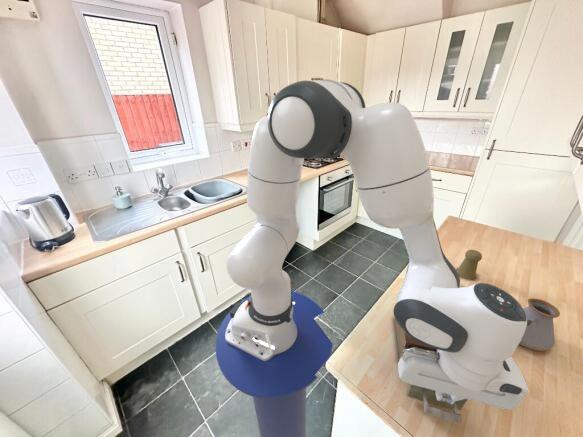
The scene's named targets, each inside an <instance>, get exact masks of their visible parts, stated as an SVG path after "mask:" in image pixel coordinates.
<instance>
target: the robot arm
mask: <svg viewBox="0 0 583 437" xmlns="http://www.w3.org/2000/svg"><path fill="white" fill-rule="evenodd" d="M339 156H342V157H343V158H344V159H345V160H346V161H347V163H348V164H349V166H350V169H351V173H352V175H353V179H354V181H355V186H356V190H357V193H358V195H359V200H360V202H361V205H362V208H363V209H364V211H365V213H366V215H367V217H368V218H369V219H370V221H372V222H373V223H375V224H376V225H378V226H380V227H383V228H386V229H398V230H399V231H400V235H401V237H402V240H403V243H404V247H405V248H406V252H407V256H408V260H409V261H408V264H407V267H406V268H407V269H406V272H405V277H404V279H403V281H402V282H403V283H402V285H401V288H400V290H399V293H398V295H397V297H396V301H395V304H394V306H393V312H392V313H393V317H394V320H395V319H396V321H397V323H398V325H399V326H400V327H401V329H402V330H403V331H404V332H405V333H406V334H408V335H409V336H410V337H412V338H413V339H415V340H416V341H418V342H420V343H422V344H424V345H426V346H429V347H432V348H435V349H437V352H434V351H429V350H423V349H420V348H416V347H413V348H409V349H404V351H403V353H402V357H401V358H400V360H399V359H398V360H399V361H398V363H397V371H398V377H399V379H400V380H401V382H402V383H405V384H408V385H409V384H412V385H416V386H419V387H423V388H427V389H431V390H435V391H436V398H437V400H438V401H442V402H445V403H449V404H454V402H455V401H459V400H463V399H467V401H468V400H469V401H473V402H476V403H480V404H484V405H488V406H491V407H496V408H499V409H503V410H506V411H509V410H510V411H512V410H516V409H517V408H519V406H520V405H521V404H522V402H523V401H524V399H525V396H526V395H528V394H529V393H530V389H529V386H528V384H527V382H526V380H525V377H524V376H523V374H522V372H521V370H520V368H519V366H518V365H517V363H516V361H515V360H514V358H513V357H512V356H513V354H514V353H515V352H516V350H517V348H518V347H519V345H520V344H519V343H520V341H521V339H522V337H523V335H524V333H525V330H526V327H527V317H526V314H525V311H524V309H523V306H522V304H520V302H519V301H518V300H517V299H516V298H515V297H514V296H512V295H511V294H510V293H509V292H507V291H505V290H504V289H502V288H500V287H499V286H496V285H493V284H491V283H487V282H477V283H474V284H472V285H468V286H461V278H460V276H459V275H458V273H457V269H456V268H455V267H454V265H453V264H452V263H451V262H450V261H449V259H448V258H447V256H446V255H445V253H444V251H443V247H442V245H441V240H440V237H439V233H438V230H437V226H436V222H435V220H434V209H435V207H434V205H435V204H434V203H435V200H434V199H435V196H434V195H435V194H434V182H433V176H432V170H431V167H430V162H429V157H428V154H427V149H426V147H425V144H424V140H423V138H422V135H421V133H420V130H419V127H418V125H417V123H416V120H415V119H414V117H413V115H412V113H411V111H410V110H409V109H408V107H407V106H405V105H404V104H402V103H399V102H394V101H393V102H389V101H388V102H381V103H377V104H374V105H371V106H368V107H366V102H365V100H364V97H363V95H362V93H360V91H359V90H358V89H357V88H356V87H354V86H353V85H352V84H350V83H348V82H342V81H339V80H334V79H326V78H325V79H318V80H299V81H296V82H294V83H293V82H292V83H291V84H288V85H287V86H284V87H283V88H282V89H281V90H280V91H278V92H277V93H276V95H275V96H274V97H273V99H272V100H271V103H270V105H269V108H268V112H267V115H266V116H263V117H261V118H260V119H259V120H258V121H257V122H256V124H255V127H254V129H253V133H252V138H251V141H250V147H249V154H248V162H247V164H248V165H247V184H246V205H247V206H248V208H249V209H250V210H251V212H253V213H254V214H255V222H254V225H253V226H252V228H251V229H250V230H249V231H248V233H246V234H245V235H244V236H243V237H241V239H240V240H239V241H238V242H236V244H235V245H234V248H233V249H232V250H231V252H230V254H229V255H228V257H227V259H226V262H225V268H226V271H227V274H228V276H229V278H230V280H232V282H234V284H236V285H237V286H239V287H241V288H243V289H247V290H250V295H249V296H248V297H249V298H248V297H247V298H248V300H247V301H245V302H244V303H243V304H242V303H240V302H239V301H238V302H237V303H236V304H235V305H234V306H233V308H232V309H231V310H230V311H231V312H230V311H229V312H230V316H231V318H232V319H231V320H230V322H229V324H228V326H227V329H226V334H225V339H226V342H228V343H230V344H231V345H233V346H235V347H237V348H239V349H241V350H243V351H245V352H247V353H249V354H251V355H253V356H255V357H257V358H259V359H261V360H263V361H267V360H269V359H270V358H272V357H273V356H274V355H276V354H279V353H282V352H284V351H286V350H287V349H289V348H290V347H291V346H292V345H293V344H294V342H295V340H296V338H297V326H296V324H295V322H294V319H293V304H295V302H293V300H292V296H291V291H292V287H291V285H292V284H291V282H292V281H291V277H290V276H289V274H288V272H287V271H286V270H283V265H284V262H285V259H286V258H287V256H288V255H289V253H290V251H291V250H292V248H293V247H294V245H296V242H297V239H298V237H299V233H300V230H301V229H300V222H299V220H298V218H297V204H298V196H299V190H300V185H301V178H302V172H303V166H304V160H305V159H307V160H308V159H309V160H310V159H311V160H313V159H321V160H322V159H326V160H333V159H336V158H338V157H339ZM460 287H461V288H460ZM228 332H230V333H228ZM261 354H263V355H261Z"/></svg>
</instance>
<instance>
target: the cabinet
mask: <svg viewBox="0 0 583 437" xmlns="http://www.w3.org/2000/svg"><path fill="white" fill-rule="evenodd" d="M394 323H395V324H394V325H395V332H396V333H395V334H396V341H397V349H398V360H400V358H401V357H402V353H403V351H404V349H408V346H409V345H410V346H415V347H419V348H424V349H428V350H433V351H437V349H435V348H432V347H429V346H426V345H424V344H422V343H420V342H418V341H416V340H415V339H413V338H412V337H410V336H409V335H408V334H406V333H405V332H404V331H403V330H402V329H401V327H400V326H399V325H398V323H397V321H396V319H395V318H394Z"/></svg>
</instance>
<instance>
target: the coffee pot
mask: <svg viewBox="0 0 583 437" xmlns="http://www.w3.org/2000/svg"><path fill="white" fill-rule="evenodd" d="M526 300H527V305H528V306H525V307H524V308H523V307H522V308H523V309H524V311H525V314H526V317H527V327H526V330H525V333H524V335H523V337H522V339H521V341H520V343H519V345H520V346H521V347H524V348H526V349H530V350H535V351H541V352H543V351H548V350H551V349H553V348H554V347H555V345H556V339H555V327H554V319H555V318H556V319H557V318H558V317H560V315H561V312H560V311H559V309H558V308H557V307H556V306H555V305H553V304H552V303H551V302H548V301H546V300H544V299H540V298H534V297H531V298H530V297H529V298H527V299H526Z"/></svg>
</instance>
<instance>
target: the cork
mask: <svg viewBox="0 0 583 437" xmlns="http://www.w3.org/2000/svg"><path fill="white" fill-rule="evenodd" d="M482 258H483V255H482V253H481V252H480V251H478V250H476V249H468V250H466V251H465V254H464V259H463V260H462V263H460V266H459V267H458V268H457V269H456V271H457V273H458V275H459V277H461V278H463V279H465V280H474V279H475V278H476V273H477V270H478V265H479V262H481V260H482Z"/></svg>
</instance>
